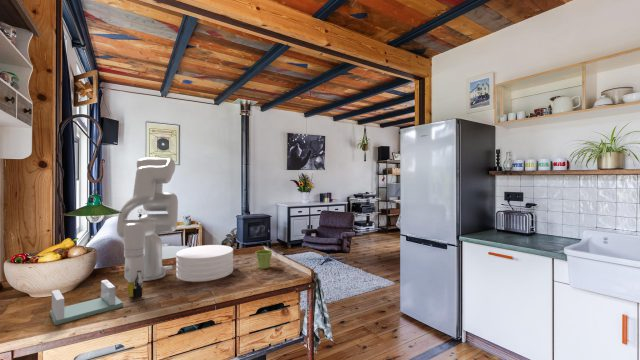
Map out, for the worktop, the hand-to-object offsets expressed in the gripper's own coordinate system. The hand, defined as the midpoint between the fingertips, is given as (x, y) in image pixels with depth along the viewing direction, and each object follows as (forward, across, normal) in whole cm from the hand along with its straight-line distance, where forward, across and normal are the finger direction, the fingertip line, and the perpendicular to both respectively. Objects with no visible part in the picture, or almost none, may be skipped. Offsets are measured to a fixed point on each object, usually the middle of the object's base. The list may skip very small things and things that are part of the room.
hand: (135, 295), depth 126 cm
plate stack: (+1, -10, +36) cm, 37 cm away
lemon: (+1, 0, 0) cm, 1 cm away
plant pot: (+1, +6, +62) cm, 62 cm away
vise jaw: (-1, 0, -9) cm, 10 cm away
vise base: (+1, 0, -16) cm, 16 cm away
